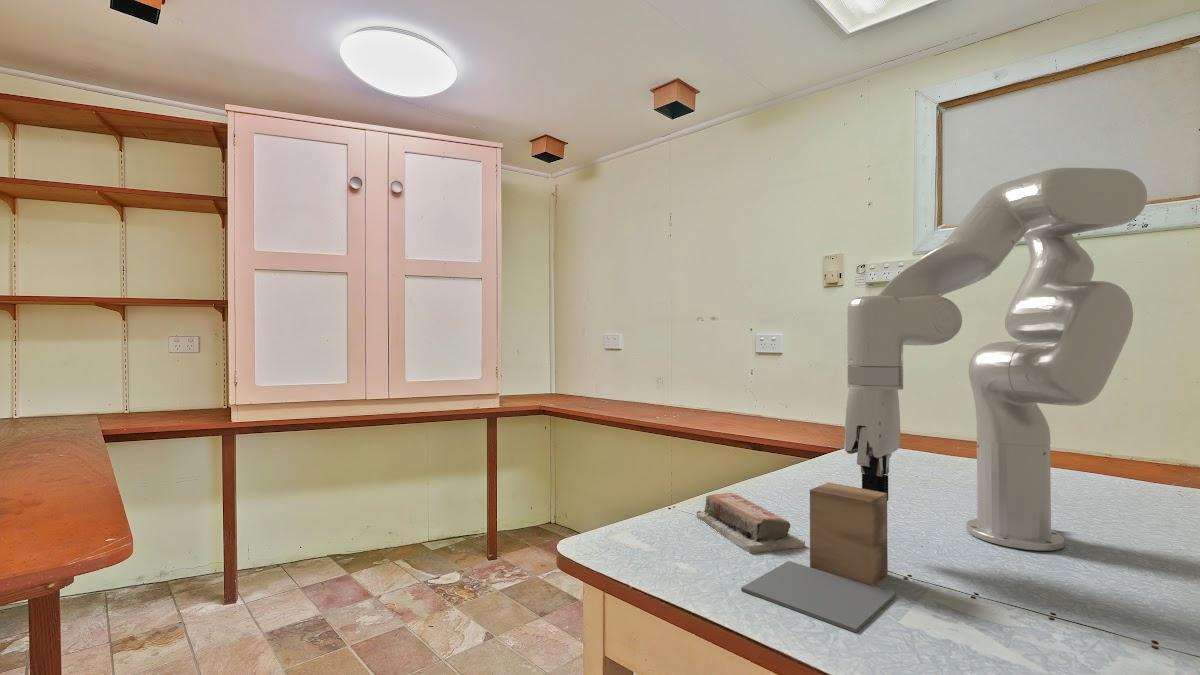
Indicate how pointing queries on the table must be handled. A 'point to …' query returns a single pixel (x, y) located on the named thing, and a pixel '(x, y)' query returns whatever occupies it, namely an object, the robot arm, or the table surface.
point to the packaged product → (747, 524)
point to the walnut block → (849, 532)
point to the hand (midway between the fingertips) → (875, 500)
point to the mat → (821, 595)
